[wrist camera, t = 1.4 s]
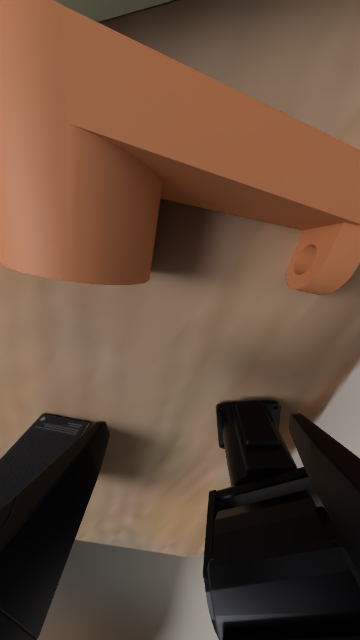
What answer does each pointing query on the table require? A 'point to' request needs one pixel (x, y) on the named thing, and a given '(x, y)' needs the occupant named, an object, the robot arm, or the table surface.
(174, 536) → the table surface
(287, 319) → the table surface
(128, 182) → the crank
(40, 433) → the small box
